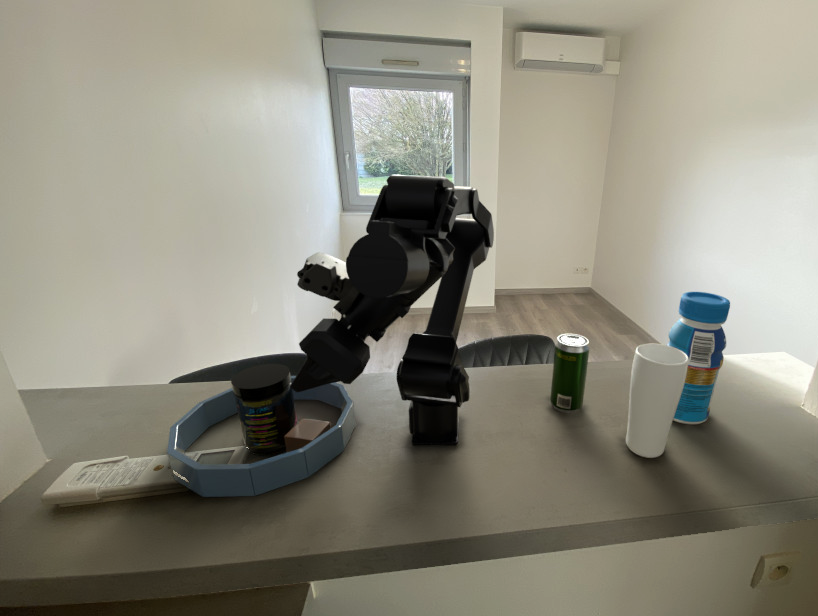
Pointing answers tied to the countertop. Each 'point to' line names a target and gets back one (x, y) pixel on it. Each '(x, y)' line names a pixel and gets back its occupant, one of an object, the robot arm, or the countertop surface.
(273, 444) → the supplement container
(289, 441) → the walnut block
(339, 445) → the blue polygonal ring
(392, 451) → the countertop surface
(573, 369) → the beer can
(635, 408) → the drinking glass
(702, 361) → the beverage bottle
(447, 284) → the robot arm
